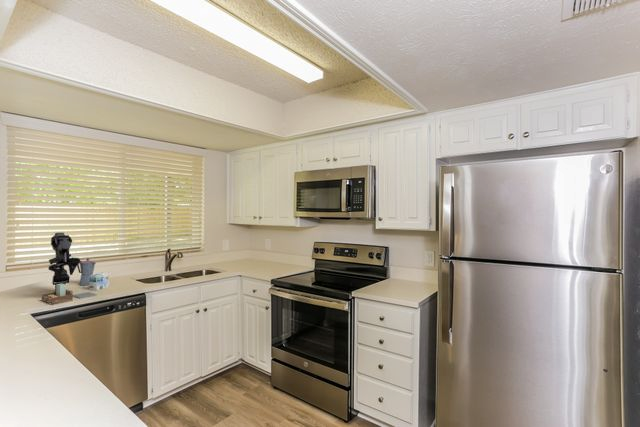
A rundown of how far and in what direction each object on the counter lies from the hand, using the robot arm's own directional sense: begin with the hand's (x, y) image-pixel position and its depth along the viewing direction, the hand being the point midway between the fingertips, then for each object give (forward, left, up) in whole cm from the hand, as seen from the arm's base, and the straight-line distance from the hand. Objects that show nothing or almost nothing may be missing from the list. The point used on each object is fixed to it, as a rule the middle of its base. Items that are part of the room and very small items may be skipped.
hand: (65, 277), depth 207 cm
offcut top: (-1, -6, -13) cm, 14 cm away
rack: (-1, -4, -14) cm, 15 cm away
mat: (-1, +11, -14) cm, 18 cm away
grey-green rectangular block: (-1, -2, -14) cm, 15 cm away
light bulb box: (-14, +26, -15) cm, 33 cm away
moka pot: (-37, +27, -15) cm, 48 cm away
